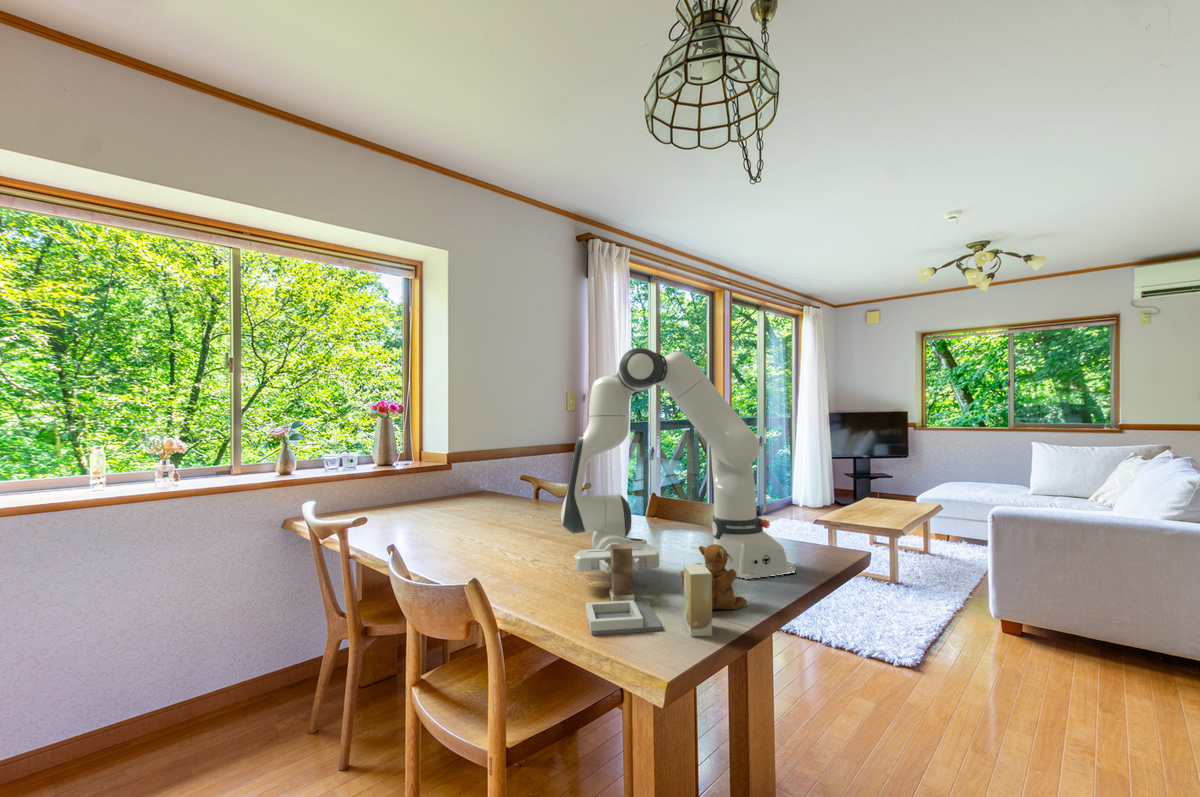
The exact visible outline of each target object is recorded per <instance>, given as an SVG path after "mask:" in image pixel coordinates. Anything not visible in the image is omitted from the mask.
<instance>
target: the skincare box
mask: <svg viewBox="0 0 1200 797" xmlns="http://www.w3.org/2000/svg"><path fill="white" fill-rule="evenodd" d="M695 564H696V563H695ZM705 566H706V564H705V563H701V564H696V565H694V564H684V565H683V571H684V586H683V625H684V627H685V629H686V631H687V632H688V634H689V636H690V637H693V638H694V637H712V636H713V610H712V574H711V572H710V571H709V570H708V569H707V568H706V567H705Z"/></svg>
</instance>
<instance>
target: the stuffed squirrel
mask: <svg viewBox="0 0 1200 797" xmlns="http://www.w3.org/2000/svg"><path fill="white" fill-rule="evenodd" d="M698 550H699V552H700V554H702V556H703V558H704V565H705V567H706V568H707V569H708V570H709V571H710V572H711V574H712V611H713V610H718V609H721V611H724V610H723V609H734V610H737V609H736V608H738V609H740V608H739V607H741V608H743V607H745V606H744V605H748V604H747V603H748V601H747V599H746V598H745V597H743V596H735V594H734V589H733V586H732V584H733V582H734V581H735V579H737V577H736V571H735V570H733V569H730V570H729V571H727V570H726V569H725V566H726V563H727V560H728V558H729V559H730V557H731V556H730V555H729V554H728V553H727V552H726V550H725V549H724V548H723V547H722V546H720V545H718V544H710V545H709V544H708V545H707V546H706V547H704V546H702V545H699V546H698ZM729 556H730V557H729ZM731 559H732V557H731ZM731 559H730V562H731ZM732 561H734V560H733V559H732ZM696 564H702V563H700V562H699V563H695V564H693V565H696ZM678 576H680V577H681V578H680V579H679V581H681V585H682V587H684V570H681V571H680V572H679V573H678ZM742 606H743V607H742Z"/></svg>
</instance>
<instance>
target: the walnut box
mask: <svg viewBox="0 0 1200 797" xmlns="http://www.w3.org/2000/svg"><path fill="white" fill-rule="evenodd" d="M610 554H611V564H612V568H613V569H612V570H613V572H612V573H610V588H609V597H610V599H611V601H628V600H634V601H635V592H634V589H633V588H634V587H633V586H634V584H633V581H634V580H633V577H634V576H633V572H632V548H631V546H630V545H629V544H610Z"/></svg>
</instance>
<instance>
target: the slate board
mask: <svg viewBox="0 0 1200 797" xmlns="http://www.w3.org/2000/svg"><path fill="white" fill-rule="evenodd" d="M584 609H585V613H586V614H585V615H586V617H587V622H588V626H589V629H590V632H591V633H590V634H591V635H592V636H599V635H600V636H601V635H613V634H629V633H643V632H644V633H645V632H660V631H663V625H662V624H661V622H660V620H659V619H658V617H657V615H656V614H655V612H654V610H653V608H652V606H651V605H650V603H649V601H645V600H644V601H635V599H634V600H628V601H612V600H611V601H598V602H597V601H596V602H585V605H584Z"/></svg>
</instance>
